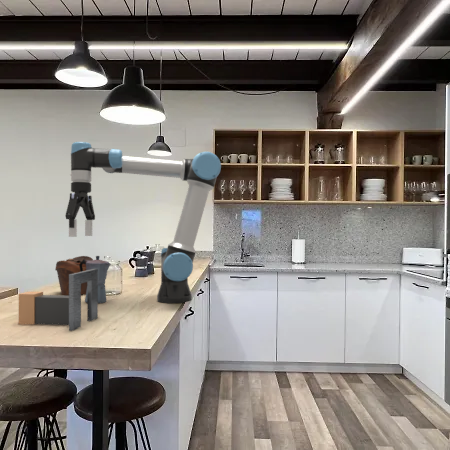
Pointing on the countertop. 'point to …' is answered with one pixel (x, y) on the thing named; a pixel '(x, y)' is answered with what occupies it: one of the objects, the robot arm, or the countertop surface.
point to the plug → (43, 309)
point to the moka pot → (102, 274)
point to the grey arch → (75, 297)
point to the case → (70, 272)
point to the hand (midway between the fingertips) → (81, 236)
